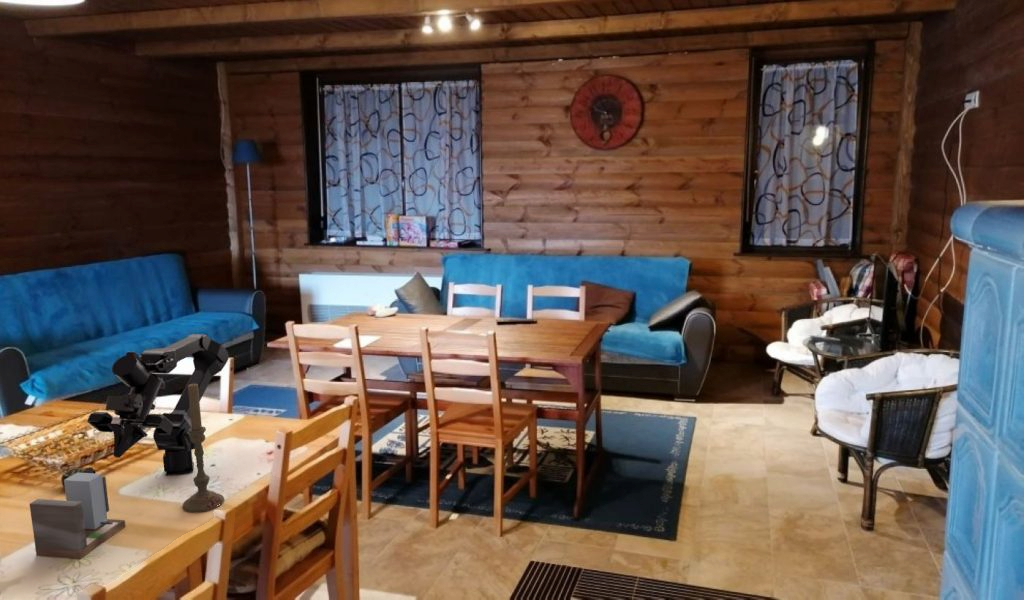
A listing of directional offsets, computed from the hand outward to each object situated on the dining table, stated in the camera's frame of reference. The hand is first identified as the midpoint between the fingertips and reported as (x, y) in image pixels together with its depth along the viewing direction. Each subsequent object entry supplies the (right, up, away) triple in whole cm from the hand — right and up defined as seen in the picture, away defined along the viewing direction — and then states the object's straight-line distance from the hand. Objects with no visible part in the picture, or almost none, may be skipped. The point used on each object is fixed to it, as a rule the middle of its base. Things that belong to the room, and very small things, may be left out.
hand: (116, 457), depth 169 cm
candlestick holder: (+18, -12, +5) cm, 22 cm away
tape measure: (-18, -11, +17) cm, 27 cm away
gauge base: (-1, -15, -12) cm, 19 cm away
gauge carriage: (0, -13, -8) cm, 15 cm away
